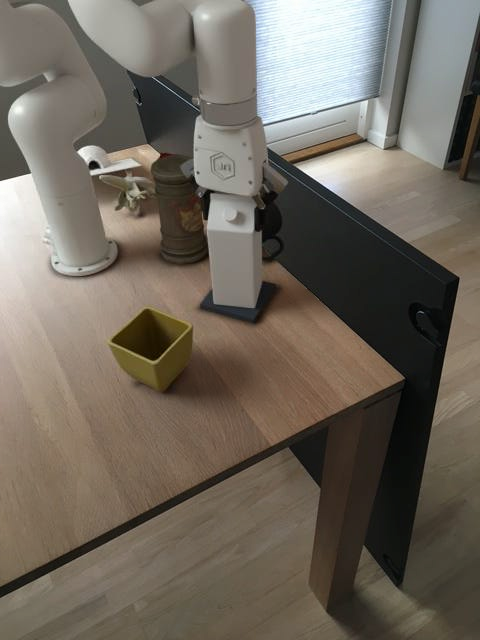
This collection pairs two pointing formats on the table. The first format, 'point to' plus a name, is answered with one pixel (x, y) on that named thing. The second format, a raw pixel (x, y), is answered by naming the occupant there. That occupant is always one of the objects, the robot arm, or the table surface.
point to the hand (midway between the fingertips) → (234, 221)
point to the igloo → (103, 161)
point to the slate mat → (241, 312)
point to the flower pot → (153, 347)
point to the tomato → (165, 155)
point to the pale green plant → (130, 190)
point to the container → (178, 212)
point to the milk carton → (234, 250)
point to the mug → (273, 230)
